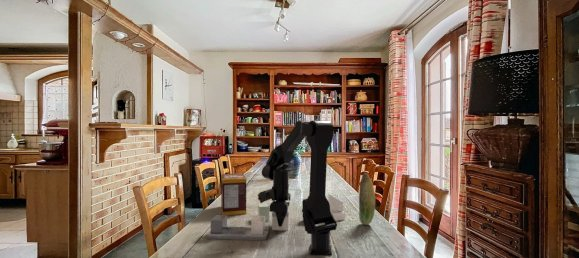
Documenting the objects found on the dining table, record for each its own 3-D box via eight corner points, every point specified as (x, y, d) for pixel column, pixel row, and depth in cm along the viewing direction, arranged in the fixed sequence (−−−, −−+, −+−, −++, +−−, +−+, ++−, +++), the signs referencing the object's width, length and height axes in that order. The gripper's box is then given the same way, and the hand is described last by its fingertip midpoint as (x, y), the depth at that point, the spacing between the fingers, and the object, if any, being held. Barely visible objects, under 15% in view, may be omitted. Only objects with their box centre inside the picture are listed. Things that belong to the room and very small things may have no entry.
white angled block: (318, 213, 120) (328, 194, 121) (337, 223, 123) (347, 204, 124) (321, 215, 117) (332, 196, 118) (341, 226, 119) (351, 207, 120)
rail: (265, 240, 97) (265, 222, 97) (206, 238, 98) (206, 221, 98) (268, 231, 105) (268, 215, 105) (214, 230, 106) (214, 214, 106)
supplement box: (242, 205, 142) (243, 173, 142) (246, 214, 127) (246, 178, 127) (221, 206, 140) (221, 173, 140) (222, 215, 125) (222, 179, 125)
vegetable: (375, 223, 115) (375, 172, 115) (375, 228, 109) (375, 175, 109) (359, 222, 117) (359, 172, 117) (358, 227, 111) (358, 174, 111)
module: (288, 230, 107) (288, 211, 107) (271, 230, 107) (271, 211, 107) (289, 226, 111) (289, 208, 111) (273, 226, 111) (273, 208, 111)
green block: (269, 221, 117) (269, 206, 117) (259, 221, 117) (259, 207, 117) (267, 217, 122) (267, 203, 122) (258, 218, 121) (258, 203, 121)
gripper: (263, 178, 119) (263, 216, 119) (254, 187, 100) (254, 232, 100) (290, 178, 118) (290, 217, 118) (287, 187, 99) (287, 233, 99)
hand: (280, 224), depth 109 cm, fingers closed on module, 4 cm apart
